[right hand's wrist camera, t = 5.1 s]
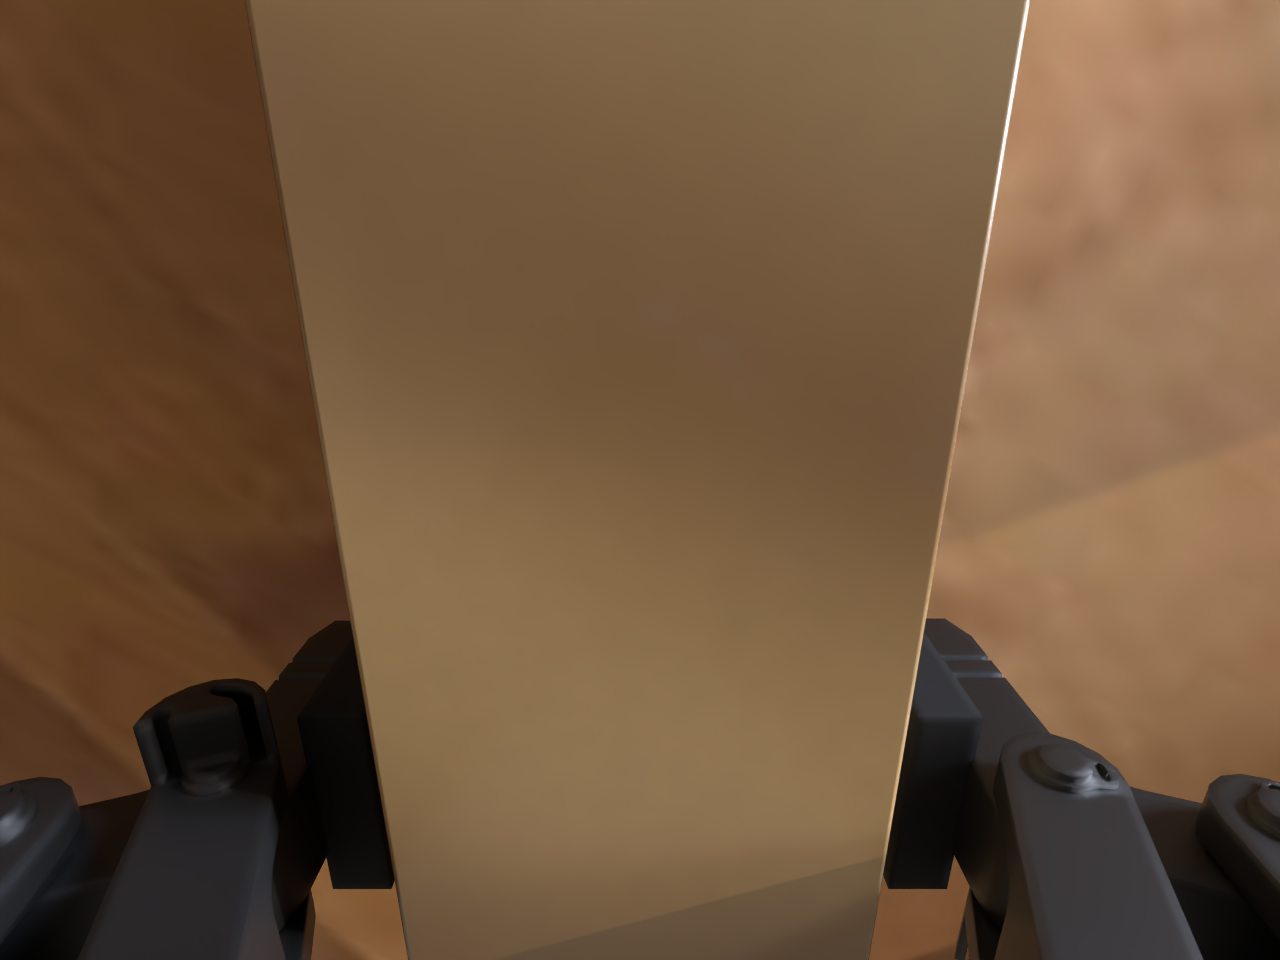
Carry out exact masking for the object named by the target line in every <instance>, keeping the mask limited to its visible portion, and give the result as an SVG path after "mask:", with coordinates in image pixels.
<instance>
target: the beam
mask: <svg viewBox="0 0 1280 960" xmlns="http://www.w3.org/2000/svg"><path fill="white" fill-rule="evenodd" d="M1029 3H1030V0H245V4H246V10H247V16H248V22H249V27H250V33H251V39H252V45H253V51H254V57H255V63H256V68H257V74H258V80H259V86H260V92H261V98H262V104H263V110H264V115H265V121H266V127H267V133H268V139H269V145H270V151H271V157H272V162H273V168H274V174H275V180H276V186H277V192H278V198H279V204H280V209H281V215H282V221H283V227H284V233H285V239H286V245H287V250H288V256H289V262H290V268H291V274H292V280H293V286H294V292H295V297H296V303H297V309H298V315H299V321H300V327H301V333H302V339H303V344H304V350H305V356H306V362H307V368H308V374H309V380H310V385H311V391H312V397H313V403H314V409H315V415H316V421H317V427H318V432H319V438H320V444H321V450H322V456H323V462H324V468H325V474H326V479H327V485H328V491H329V497H330V503H331V509H332V515H333V521H334V526H335V532H336V538H337V544H338V550H339V556H340V562H341V568H342V573H343V579H344V585H345V591H346V597H347V603H348V609H349V614H350V620H351V626H352V632H353V638H354V644H355V650H356V656H357V661H358V667H359V673H360V679H361V685H362V691H363V697H364V703H365V708H366V714H367V720H368V726H369V732H370V738H371V744H372V749H373V755H374V761H375V767H376V773H377V779H378V785H379V791H380V796H381V802H382V808H383V814H384V820H385V826H386V832H387V838H388V843H389V849H390V855H391V861H392V867H393V873H394V879H395V885H396V890H397V896H398V902H399V908H400V914H401V920H402V926H403V931H404V937H405V943H406V949H407V955H408V960H869V955H870V949H871V943H872V937H873V931H874V925H875V919H876V913H877V907H878V901H879V895H880V889H881V883H882V877H883V871H884V865H885V859H886V853H887V848H888V842H889V836H890V830H891V824H892V818H893V812H894V806H895V800H896V794H897V788H898V782H899V776H900V770H901V764H902V758H903V752H904V746H905V740H906V735H907V729H908V723H909V717H910V711H911V705H912V699H913V693H914V687H915V681H916V675H917V669H918V663H919V657H920V651H921V645H922V639H923V633H924V627H925V621H926V616H927V610H928V604H929V598H930V592H931V586H932V580H933V574H934V568H935V562H936V556H937V550H938V544H939V538H940V532H941V526H942V520H943V514H944V508H945V502H946V497H947V491H948V485H949V479H950V473H951V467H952V461H953V455H954V449H955V443H956V437H957V431H958V425H959V419H960V413H961V407H962V401H963V395H964V389H965V383H966V378H967V372H968V366H969V360H970V354H971V348H972V342H973V336H974V330H975V324H976V318H977V312H978V306H979V300H980V294H981V288H982V282H983V276H984V270H985V265H986V259H987V253H988V247H989V241H990V235H991V229H992V223H993V217H994V211H995V205H996V199H997V193H998V187H999V181H1000V175H1001V169H1002V163H1003V157H1004V151H1005V146H1006V140H1007V134H1008V128H1009V122H1010V116H1011V110H1012V104H1013V98H1014V92H1015V86H1016V80H1017V74H1018V68H1019V62H1020V56H1021V50H1022V44H1023V38H1024V32H1025V27H1026V21H1027V15H1028V9H1029Z"/></svg>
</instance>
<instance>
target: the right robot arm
mask: <svg viewBox="0 0 1280 960" xmlns="http://www.w3.org/2000/svg"><path fill="white" fill-rule="evenodd" d="M133 730H134V733H135V736H136V739H137V743H138V746H139V749H140V752H141V755H142V758H143V761H144V765H145V768H146V771H147V774H148V777H149V780H150V783H151V788H150V790H147V791H144V792H140V793H136V794H132V795H127V796H123V797H119V798H114V799H110V800H105V801H101V802H97V803H92V804H88V805H83V806H78V804H77V801H76V798H75V796H74V793H73V790H72V787H71V786H69V785H68V784H66V783H65V782H64V781H62V780H61V779H56V778H45V777H38V778H32V779H26V780H21V781H15V782H12V783H9V784H6V785H2V786H0V960H311V954H312V944H313V935H314V926H315V917H316V916H315V909H314V902H313V897H312V893H311V887H312V885H313V883H314V881H315V879H316V877H317V875H318V873H319V871H320V869H321V867H322V865H323V863H324V861H325V859H326V858H327V862H328V867H329V872H330V876H331V881H332V886H333V889H392V886H393V883H394V881H395V879H394V873H393V867H392V861H391V855H390V849H389V843H388V838H387V832H386V826H385V820H384V814H383V808H382V802H381V796H380V791H379V785H378V779H377V773H376V767H375V761H374V755H373V749H372V744H371V738H370V732H369V726H368V720H367V714H366V708H365V703H364V697H363V691H362V685H361V679H360V673H359V667H358V661H357V656H356V650H355V644H354V638H353V632H352V626H351V621H335V622H333V623H332V624H330V625H328V626H327V627H325V628H324V629H322V630H321V631H319V632H318V633H316V634H315V635H313V636H312V637H310V638H309V639H308V640H307V642H306V643H305V644H304V645H303V647H302V648H301V649H300V650H299V652H298V653H297V654H296V655H295V657H294V658H293V662H292V663H289V664H288V665H287V667H286V668H285V669H284V670H283V672H282V673H281V674H280V675H279V680H275V682H274V683H273V684H272V685H271V687H270V688H269V689H268V690H267V692H266V693H265V690H264V689H263V688H262V687H261V686H259V685H258V684H257V683H256V682H253V681H248V680H243V679H238V678H235V679H222V680H213V681H209V682H206V683H202V684H198V685H194V686H191V687H188V688H186V689H184V690H182V691H179V692H177V693H175V694H173V695H171V696H168V697H166V698H165V699H163V700H162V701H160V702H159V703H157V704H156V705H155V706H153V707H152V708H150V709H149V710H148V711H146V712H145V713H144V714H143V716H142V717H141V718H140V719H139V720H138V722H137V723H136V724H135V725H134V727H133ZM954 855H955V857H956V859H957V861H958V863H959V865H960V867H961V869H962V871H963V873H964V875H965V877H966V879H967V881H968V883H969V885H970V888H969V893H968V897H967V901H966V906H965V910H964V914H963V919H962V923H961V927H960V932H959V936H958V940H957V946H956V953H955V959H958V960H965V956H966V952H967V948H968V952H969V960H1280V783H1279V782H1276V781H1272V780H1270V779H1266V778H1260V777H1255V776H1249V775H1243V774H1236V775H1225V776H1220V777H1219V778H1217V779H1216V780H1215V781H1213V782H1212V783H1210V785H1209V787H1208V790H1207V793H1206V796H1205V798H1204V801H1203V804H1201V803H1197V802H1192V801H1188V800H1184V799H1179V798H1175V797H1170V796H1166V795H1161V794H1157V793H1153V792H1148V791H1144V790H1140V789H1137V788H1133V787H1130V786H1129V785H1128V783H1127V782H1126V781H1125V779H1124V778H1123V776H1122V775H1121V773H1120V772H1119V771H1118V769H1117V768H1116V767H1114V766H1113V765H1112V764H1111V763H1110V762H1108V761H1107V760H1106V759H1105V758H1103V757H1102V756H1101V755H1100V754H1098V753H1097V752H1095V751H1093V750H1091V749H1089V748H1087V747H1085V746H1083V745H1081V744H1079V743H1077V742H1075V741H1072V740H1069V739H1066V738H1062V737H1059V736H1056V735H1052V734H1050V733H1049V732H1048V731H1047V729H1046V728H1045V727H1044V726H1043V724H1042V723H1041V722H1040V721H1039V719H1038V718H1037V717H1036V716H1035V714H1034V713H1033V712H1032V711H1031V710H1030V708H1029V707H1028V706H1027V705H1026V703H1025V702H1024V701H1023V700H1022V698H1021V697H1020V696H1019V695H1018V693H1017V692H1016V691H1015V690H1014V688H1013V687H1012V686H1011V685H1010V683H1009V682H1008V681H1007V680H1006V679H1005V678H1002V676H1001V672H1000V671H999V670H998V669H997V667H996V666H995V665H994V664H993V662H992V661H988V656H987V655H986V654H985V652H984V651H983V650H982V649H981V648H980V646H979V645H978V644H977V643H976V641H975V640H974V639H973V638H972V636H970V635H969V634H967V633H966V632H964V631H963V630H961V629H960V628H958V627H957V626H955V625H954V624H952V623H951V622H949V621H948V620H946V619H926V621H925V627H924V633H923V639H922V645H921V651H920V657H919V663H918V669H917V675H916V681H915V687H914V693H913V699H912V705H911V711H910V717H909V723H908V729H907V735H906V740H905V746H904V752H903V758H902V764H901V770H900V776H899V782H898V788H897V794H896V800H895V806H894V812H893V818H892V824H891V830H890V836H889V842H888V848H887V853H886V859H885V865H884V871H883V875H884V878H885V881H886V883H887V886H888V889H947V886H948V881H949V876H950V872H951V867H952V862H953V858H954Z"/></svg>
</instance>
